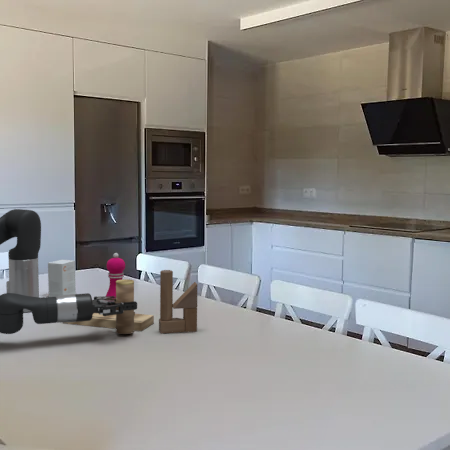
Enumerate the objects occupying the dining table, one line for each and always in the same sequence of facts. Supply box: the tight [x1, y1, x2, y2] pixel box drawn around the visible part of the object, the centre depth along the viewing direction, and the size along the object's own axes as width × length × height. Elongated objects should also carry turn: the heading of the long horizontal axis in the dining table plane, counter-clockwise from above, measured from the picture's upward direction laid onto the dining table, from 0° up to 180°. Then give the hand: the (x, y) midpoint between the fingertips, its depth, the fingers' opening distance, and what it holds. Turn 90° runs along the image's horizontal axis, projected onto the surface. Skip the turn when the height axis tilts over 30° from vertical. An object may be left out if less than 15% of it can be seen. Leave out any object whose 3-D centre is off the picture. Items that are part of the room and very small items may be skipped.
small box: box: [47, 259, 77, 297], centre depth 207 cm, size 8×6×13 cm
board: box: [67, 313, 155, 332], centre depth 172 cm, size 26×9×3 cm, turn 74°
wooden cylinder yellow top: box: [115, 278, 136, 335], centre depth 162 cm, size 5×8×15 cm, turn 164°
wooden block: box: [158, 269, 198, 334], centre depth 164 cm, size 4×11×18 cm, turn 105°
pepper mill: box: [105, 252, 126, 297], centre depth 183 cm, size 7×7×20 cm
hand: (134, 303), depth 161 cm, fingers closed on wooden cylinder yellow top, 5 cm apart
